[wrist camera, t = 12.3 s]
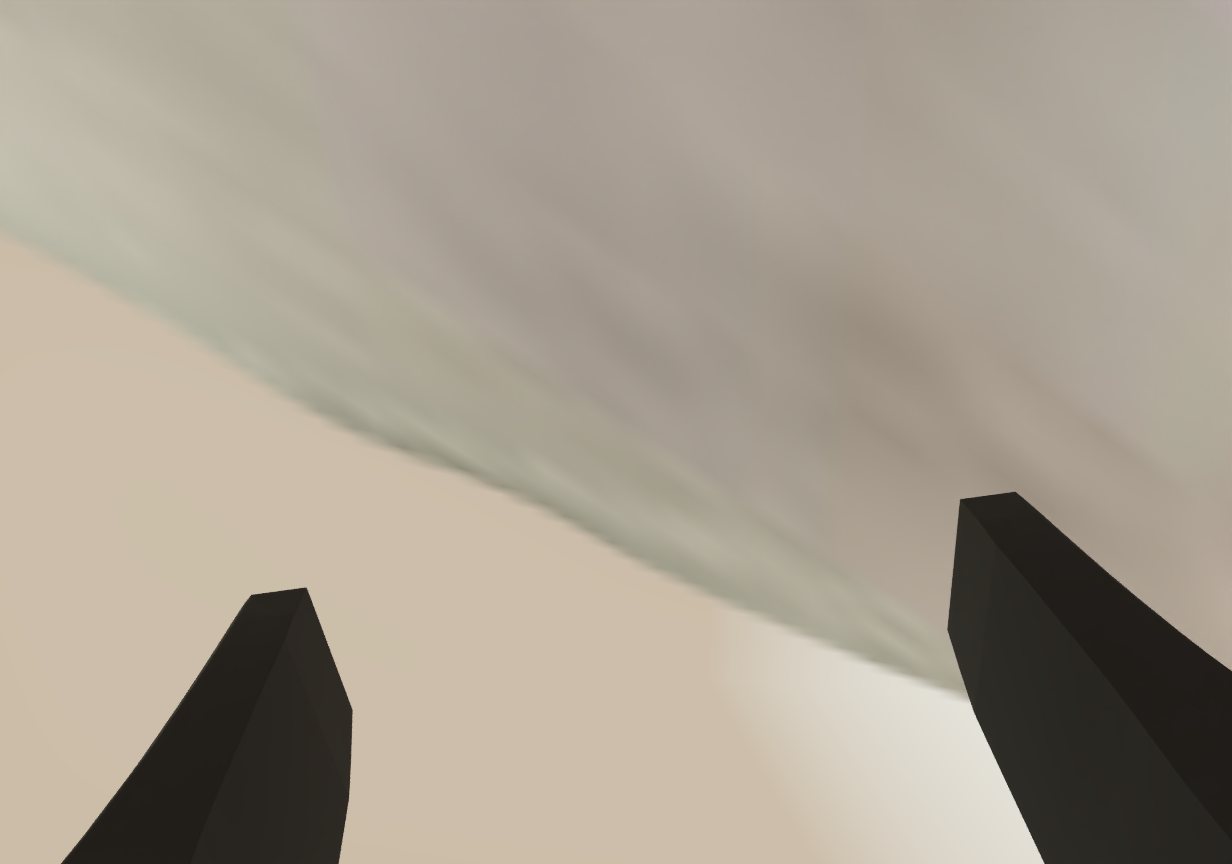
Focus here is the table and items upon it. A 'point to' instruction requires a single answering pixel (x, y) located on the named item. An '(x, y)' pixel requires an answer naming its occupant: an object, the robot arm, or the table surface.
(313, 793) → the robot arm
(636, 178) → the table surface
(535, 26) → the table surface
